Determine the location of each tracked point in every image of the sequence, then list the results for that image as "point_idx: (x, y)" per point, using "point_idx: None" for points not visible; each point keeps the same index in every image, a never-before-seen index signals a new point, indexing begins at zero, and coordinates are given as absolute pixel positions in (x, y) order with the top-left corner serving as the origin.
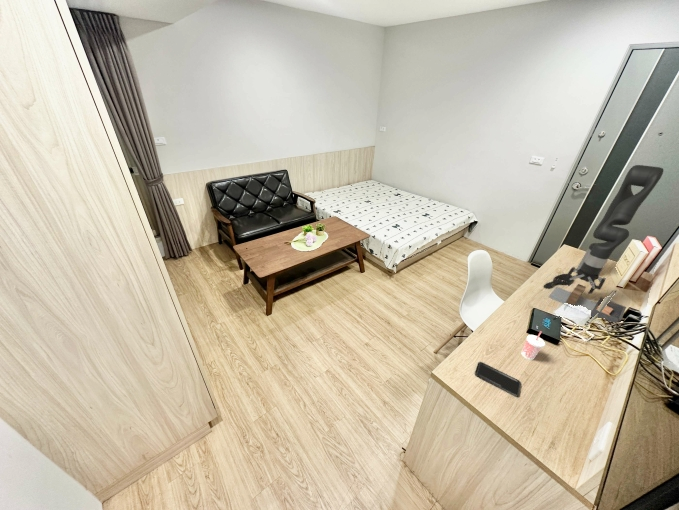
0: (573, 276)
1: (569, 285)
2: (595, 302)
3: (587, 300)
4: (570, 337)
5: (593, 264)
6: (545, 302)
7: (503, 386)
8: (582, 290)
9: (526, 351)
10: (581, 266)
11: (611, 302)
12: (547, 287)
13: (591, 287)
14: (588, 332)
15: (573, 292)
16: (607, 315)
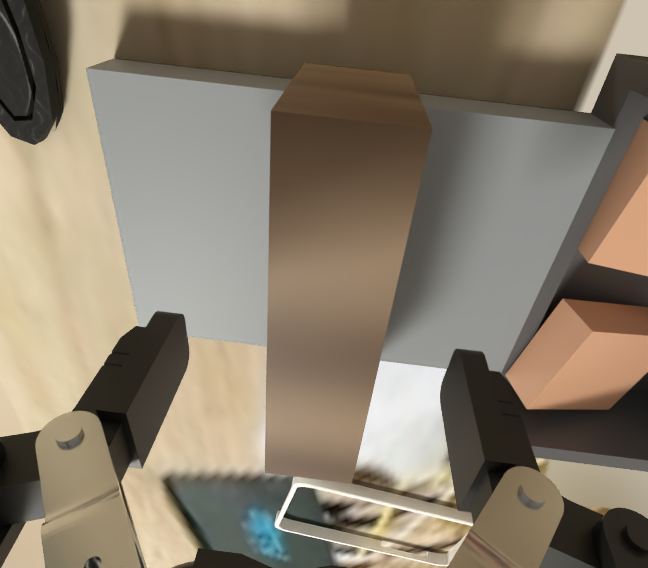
0: (58, 498)
1: (182, 374)
2: (597, 128)
3: (492, 159)
4: (379, 562)
5: None
6: (178, 389)
7: None
8: (372, 329)
9: None
10: None
11: None
12: (36, 126)
13: (467, 495)
14: (459, 518)
15: (281, 446)
16: (616, 465)
